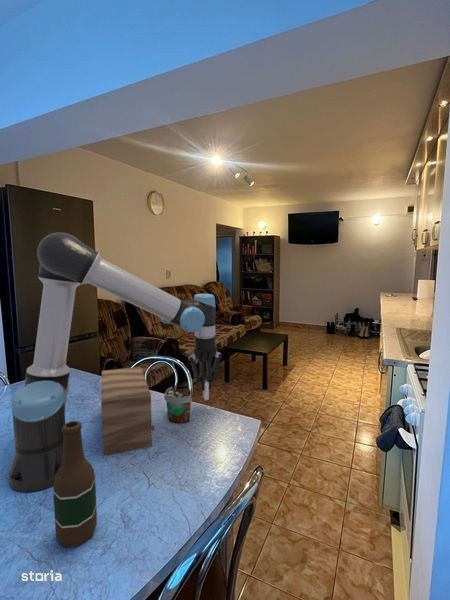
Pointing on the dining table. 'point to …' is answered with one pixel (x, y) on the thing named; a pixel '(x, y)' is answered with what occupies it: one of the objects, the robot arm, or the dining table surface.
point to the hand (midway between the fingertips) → (205, 398)
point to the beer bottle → (74, 491)
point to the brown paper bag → (125, 411)
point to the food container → (177, 406)
